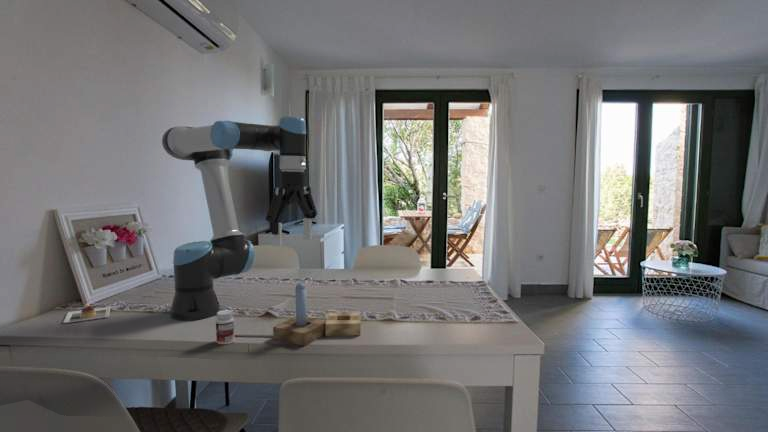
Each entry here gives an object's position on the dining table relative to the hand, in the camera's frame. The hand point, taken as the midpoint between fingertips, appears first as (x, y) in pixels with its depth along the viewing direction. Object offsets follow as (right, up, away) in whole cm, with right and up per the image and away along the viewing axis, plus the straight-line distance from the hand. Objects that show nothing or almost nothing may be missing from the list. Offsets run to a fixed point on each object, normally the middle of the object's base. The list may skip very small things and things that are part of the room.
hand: (293, 242), depth 129 cm
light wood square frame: (+15, -26, 0) cm, 30 cm away
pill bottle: (-17, -27, -9) cm, 33 cm away
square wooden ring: (+3, -27, -5) cm, 27 cm away
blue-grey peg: (+4, -27, -5) cm, 27 cm away
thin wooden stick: (-11, -27, -6) cm, 29 cm away
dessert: (-70, -26, +12) cm, 75 cm away
